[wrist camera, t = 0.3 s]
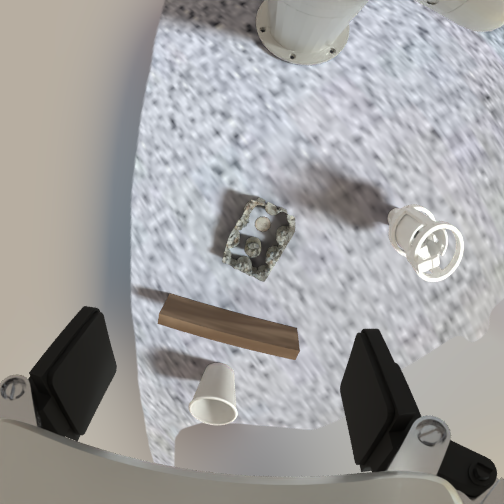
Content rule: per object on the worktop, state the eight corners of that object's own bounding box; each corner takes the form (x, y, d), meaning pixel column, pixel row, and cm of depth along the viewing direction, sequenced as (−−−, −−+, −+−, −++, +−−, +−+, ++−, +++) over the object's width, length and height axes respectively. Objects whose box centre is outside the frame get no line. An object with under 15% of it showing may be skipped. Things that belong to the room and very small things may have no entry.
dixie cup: (201, 386, 58) (193, 424, 49) (195, 356, 55) (184, 395, 45) (242, 387, 57) (239, 426, 48) (239, 357, 54) (235, 398, 45)
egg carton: (252, 190, 43) (250, 196, 39) (299, 214, 44) (302, 223, 40) (219, 252, 46) (215, 264, 43) (264, 274, 47) (263, 287, 44)
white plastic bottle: (370, 204, 42) (413, 241, 28) (410, 188, 41) (465, 218, 27) (381, 246, 44) (422, 295, 31) (420, 230, 43) (470, 272, 29)
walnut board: (169, 293, 49) (159, 313, 44) (297, 328, 51) (299, 351, 45) (168, 302, 50) (157, 323, 45) (292, 336, 52) (295, 360, 46)
